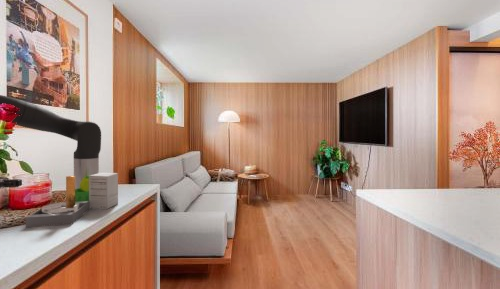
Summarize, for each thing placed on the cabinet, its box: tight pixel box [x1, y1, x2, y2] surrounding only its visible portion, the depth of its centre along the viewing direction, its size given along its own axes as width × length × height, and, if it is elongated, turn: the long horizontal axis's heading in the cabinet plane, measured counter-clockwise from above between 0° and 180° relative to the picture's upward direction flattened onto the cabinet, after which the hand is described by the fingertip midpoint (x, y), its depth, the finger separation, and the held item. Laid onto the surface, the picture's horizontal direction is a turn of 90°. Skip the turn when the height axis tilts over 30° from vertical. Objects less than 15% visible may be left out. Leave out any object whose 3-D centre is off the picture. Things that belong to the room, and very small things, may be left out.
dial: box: [41, 175, 79, 214], centre depth 82 cm, size 10×10×12 cm
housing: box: [25, 201, 91, 228], centre depth 82 cm, size 16×12×5 cm
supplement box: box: [89, 172, 119, 210], centre depth 96 cm, size 7×7×13 cm
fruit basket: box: [75, 176, 89, 202], centre depth 101 cm, size 11×9×11 cm
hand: (20, 182), depth 76 cm, fingers closed
